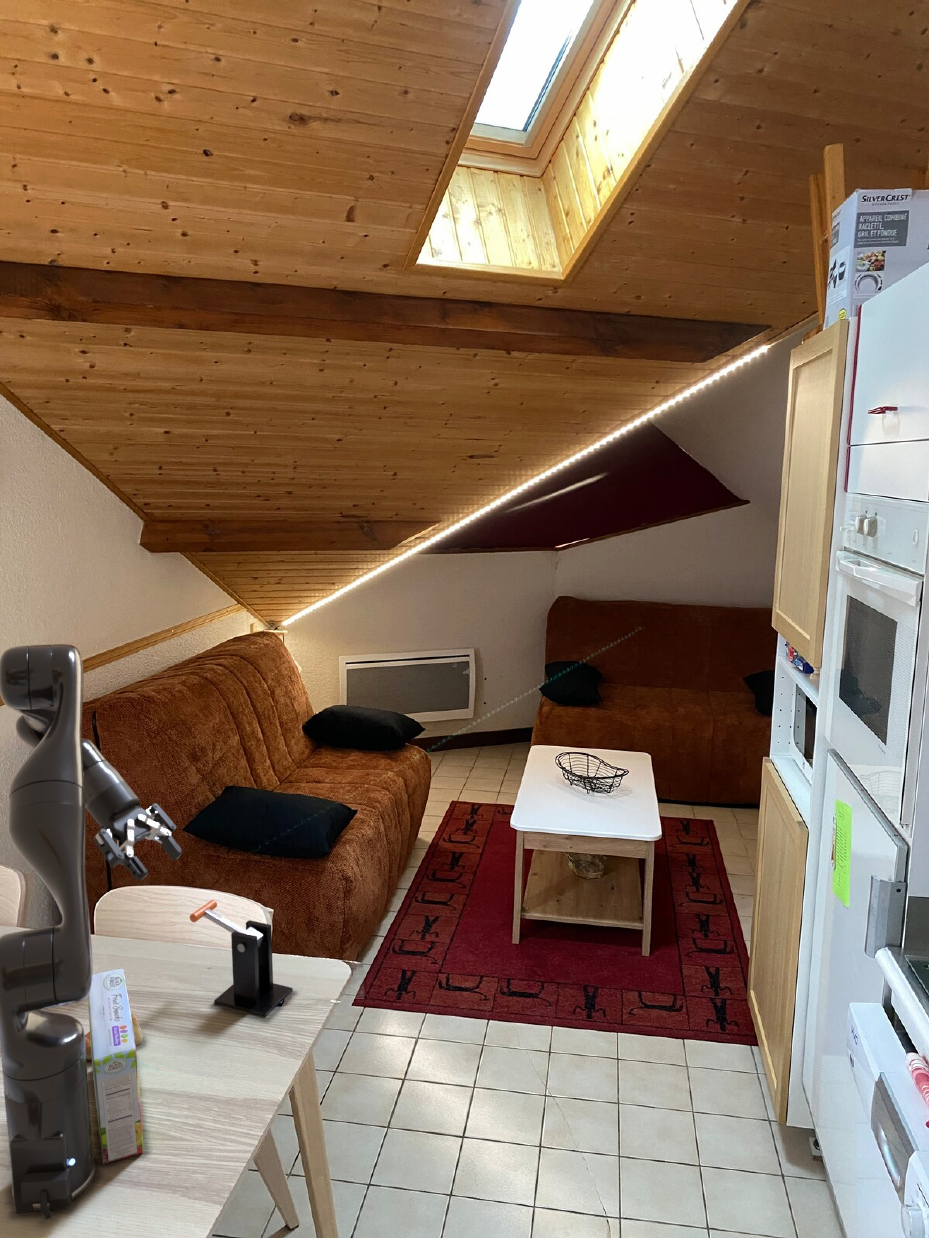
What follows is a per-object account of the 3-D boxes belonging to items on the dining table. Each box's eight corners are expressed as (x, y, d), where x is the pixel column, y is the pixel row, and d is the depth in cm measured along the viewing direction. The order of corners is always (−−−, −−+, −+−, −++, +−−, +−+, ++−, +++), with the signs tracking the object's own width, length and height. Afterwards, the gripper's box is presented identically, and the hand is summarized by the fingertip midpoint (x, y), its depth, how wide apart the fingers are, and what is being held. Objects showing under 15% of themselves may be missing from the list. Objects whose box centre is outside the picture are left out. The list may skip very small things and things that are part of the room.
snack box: (91, 1067, 134) (85, 973, 131) (132, 1057, 136) (126, 965, 133) (99, 1167, 114) (92, 1059, 112) (146, 1153, 117) (140, 1047, 114)
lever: (188, 922, 150) (191, 910, 149) (208, 907, 155) (212, 895, 154) (247, 957, 146) (250, 945, 146) (266, 941, 151) (269, 929, 151)
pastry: (83, 1070, 133) (81, 1046, 132) (70, 1048, 138) (68, 1025, 138) (146, 1045, 139) (145, 1022, 138) (131, 1025, 144) (130, 1003, 143)
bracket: (214, 1006, 149) (211, 934, 147) (243, 981, 156) (240, 912, 154) (265, 1020, 145) (263, 946, 143) (292, 994, 152) (290, 923, 150)
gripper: (84, 794, 148) (144, 872, 146) (145, 768, 161) (200, 839, 159) (62, 820, 151) (120, 896, 149) (123, 792, 164) (177, 862, 162)
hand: (161, 867), depth 154 cm, fingers open, 8 cm apart
